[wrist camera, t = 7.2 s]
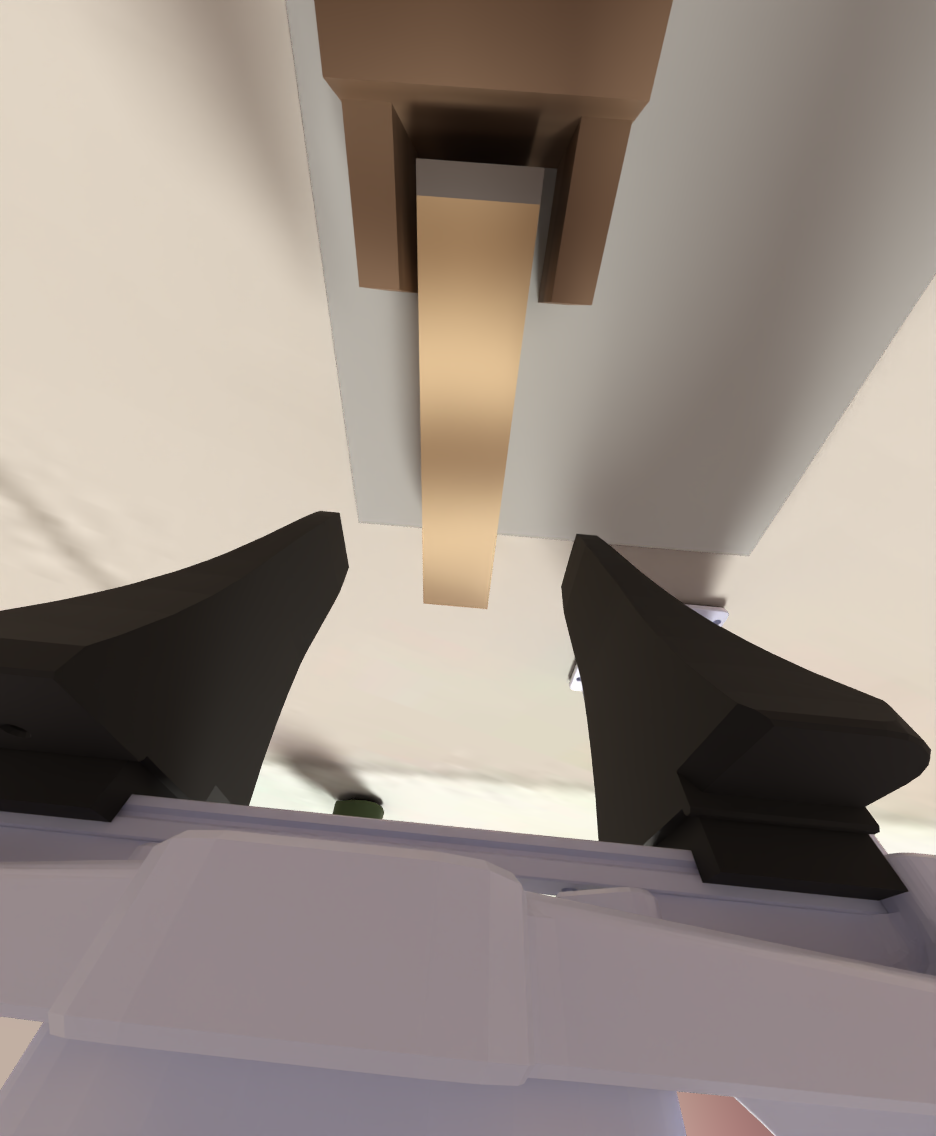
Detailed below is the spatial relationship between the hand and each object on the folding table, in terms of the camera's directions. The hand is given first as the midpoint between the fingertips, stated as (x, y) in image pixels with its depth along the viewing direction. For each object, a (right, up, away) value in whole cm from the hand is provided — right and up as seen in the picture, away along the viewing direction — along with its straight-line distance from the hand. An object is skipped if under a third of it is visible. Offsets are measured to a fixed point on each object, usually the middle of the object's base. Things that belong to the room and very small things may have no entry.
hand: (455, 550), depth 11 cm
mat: (+6, +8, +4) cm, 11 cm away
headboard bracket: (+1, +12, +1) cm, 12 cm away
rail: (0, +6, +5) cm, 8 cm away
